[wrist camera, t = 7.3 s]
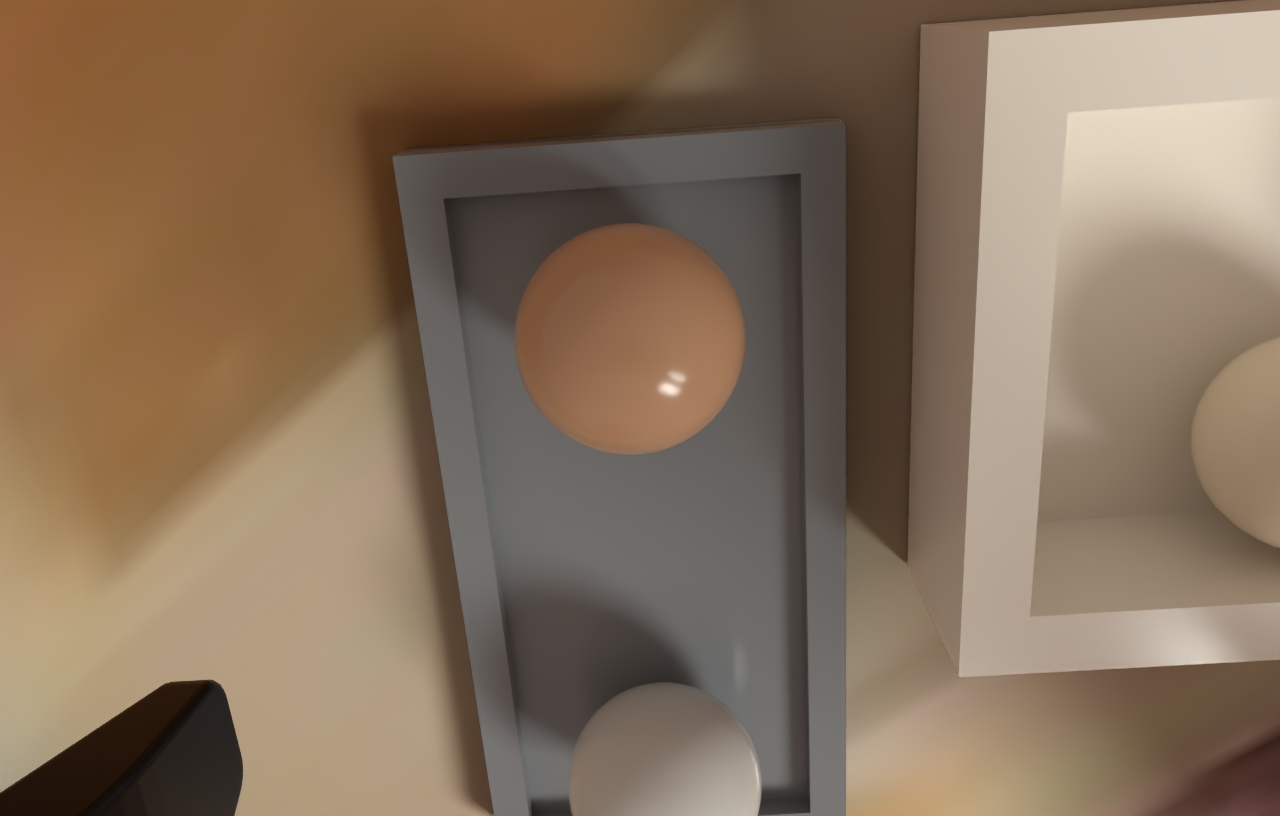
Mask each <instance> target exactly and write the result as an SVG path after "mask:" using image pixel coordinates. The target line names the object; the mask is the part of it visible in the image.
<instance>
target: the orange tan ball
mask: <svg viewBox="0 0 1280 816" xmlns="http://www.w3.org/2000/svg"><path fill="white" fill-rule="evenodd" d="M745 337H746V336H745V326H744V317H743V313H742V309H741V305H740V302H739V299H738V297H737V294H736V292H735V289H734V288H733V286H732V284H731V282H730V281H729V279H728V277H727V275H726V274H725V272H724V271H723V270H722V268H721V267H720V266H719V265H718V263H717V262H716V261H715V260H714V259H713V258H712V257H711V256H710V255H709V254H708V253H707V252H706V251H705V250H704V249H702V248H701V247H700V246H698V245H697V244H696V243H694V242H693V241H691V240H689V239H687V238H686V237H684V236H682V235H680V234H678V233H675V232H673V231H670V230H668V229H665V228H661V227H657V226H653V225H648V224H640V223H619V224H612V225H605V226H602V227H598V228H594V229H591V230H589V231H586V232H584V233H581V234H579V235H577V236H575V237H573V238H572V239H570V240H568V241H567V242H565V243H564V244H562V245H561V246H560V247H558V248H557V249H556V250H555V251H553V252H552V253H551V254H550V255H549V256H548V257H547V258H546V259H545V260H544V261H543V262H542V264H541V265H540V266H539V268H538V269H537V271H536V272H535V273H534V275H533V276H532V277H531V279H530V281H529V283H528V285H527V286H526V288H525V290H524V293H523V295H522V298H521V300H520V303H519V307H518V311H517V315H516V320H515V329H514V351H515V357H516V362H517V367H518V371H519V374H520V377H521V380H522V383H523V385H524V387H525V389H526V391H527V393H528V395H529V397H530V399H531V400H532V402H533V403H534V405H535V406H536V408H537V409H538V410H539V411H540V412H541V414H542V415H543V416H544V417H545V418H546V419H547V420H548V421H549V422H550V423H551V424H552V425H553V426H554V427H555V428H556V429H557V430H559V431H560V432H561V433H563V434H564V435H566V436H567V437H569V438H570V439H572V440H574V441H576V442H578V443H580V444H582V445H584V446H587V447H589V448H592V449H595V450H598V451H602V452H606V453H612V454H620V455H640V454H648V453H653V452H657V451H661V450H665V449H668V448H670V447H673V446H676V445H678V444H680V443H682V442H684V441H686V440H687V439H689V438H691V437H692V436H694V435H695V434H697V433H698V432H699V431H701V430H702V429H703V428H704V427H705V426H706V425H708V424H709V423H710V422H711V421H712V420H713V419H714V418H715V417H716V416H717V414H718V413H719V412H720V411H721V410H722V409H723V407H724V406H725V404H726V403H727V401H728V399H729V398H730V396H731V394H732V392H733V390H734V388H735V386H736V384H737V381H738V378H739V375H740V372H741V369H742V366H743V360H744V354H745Z"/></svg>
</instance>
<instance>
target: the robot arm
mask: <svg viewBox="0 0 1280 816" xmlns="http://www.w3.org/2000/svg"><path fill="white" fill-rule="evenodd" d="M242 779H243V763H242V757H241V752H240V748H239V744H238V740H237V736H236V733H235V729H234V725H233V721H232V717H231V713H230V709H229V705H228V701H227V697H226V694H225V692H224V690H223V688H222V686H221V685H220V684H219V683H217V682H215V681H214V680H196V681H178V682H170V683H166V684H164V685H162V686H161V687H159V688H158V689H156V690H155V691H153V692H152V693H150V694H149V695H147V696H146V697H144V698H143V699H141V700H140V701H138V702H137V703H135V704H134V705H132V706H130V707H129V708H127V709H126V710H124V711H123V712H121V713H120V714H118V715H117V716H115V717H114V718H112V719H111V720H109V721H108V722H106V723H105V724H103V725H102V726H100V727H99V728H97V729H96V730H94V731H93V732H91V733H90V734H88V735H87V736H85V737H84V738H82V739H81V740H79V741H78V742H76V743H75V744H73V745H72V746H70V747H69V748H67V749H66V750H64V751H63V752H61V753H60V754H58V755H57V756H55V757H54V758H52V759H51V760H49V761H48V762H46V763H45V764H43V765H42V766H40V767H39V768H37V769H36V770H34V771H32V772H31V773H29V774H28V775H26V776H25V777H23V778H22V779H20V780H19V781H17V782H16V783H14V784H13V785H11V786H10V787H8V788H7V789H5V790H4V791H2V792H1V793H0V816H234V815H235V811H236V807H237V803H238V799H239V795H240V791H241V787H242Z"/></svg>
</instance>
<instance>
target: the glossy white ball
mask: <svg viewBox="0 0 1280 816" xmlns="http://www.w3.org/2000/svg"><path fill="white" fill-rule="evenodd" d="M761 791H762V781H761V770H760V764H759V760H758V756H757V753H756V749H755V747H754V745H753V743H752V740H751V738H750V736H749V734H748V732H747V730H746V729H745V727H744V726H743V724H742V723H741V722H740V720H739V719H738V718H737V716H736V715H735V714H734V713H733V712H732V711H731V710H730V709H729V708H728V707H727V706H725V705H724V704H723V703H722V702H721V701H719V700H718V699H717V698H715V697H713V696H712V695H710V694H709V693H706V692H704V691H702V690H700V689H697V688H694V687H692V686H689V685H684V684H680V683H672V682H655V683H648V684H643V685H639V686H636V687H633V688H631V689H628V690H626V691H624V692H622V693H619V694H618V695H616V696H615V697H613V698H611V699H610V700H609V701H607V702H606V703H605V704H604V705H603V706H602V707H600V708H599V709H598V710H597V711H596V712H595V713H594V715H593V716H592V717H591V718H590V719H589V721H588V722H587V724H586V725H585V727H584V728H583V730H582V731H581V733H580V735H579V737H578V739H577V742H576V744H575V746H574V749H573V752H572V756H571V760H570V765H569V771H568V798H569V803H570V808H571V813H572V816H758V812H759V807H760V801H761Z"/></svg>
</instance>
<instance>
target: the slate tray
mask: <svg viewBox="0 0 1280 816" xmlns="http://www.w3.org/2000/svg"><path fill="white" fill-rule="evenodd" d="M392 159H393V165H394V171H395V178H396V184H397V191H398V197H399V204H400V210H401V217H402V223H403V230H404V236H405V243H406V249H407V256H408V262H409V269H410V275H411V282H412V288H413V295H414V301H415V307H416V314H417V320H418V327H419V333H420V340H421V346H422V353H423V359H424V366H425V372H426V379H427V385H428V392H429V398H430V405H431V411H432V418H433V424H434V431H435V437H436V443H437V450H438V456H439V463H440V469H441V476H442V482H443V489H444V495H445V502H446V508H447V515H448V521H449V528H450V534H451V541H452V547H453V554H454V560H455V567H456V573H457V579H458V586H459V592H460V599H461V605H462V612H463V618H464V625H465V631H466V638H467V644H468V651H469V657H470V664H471V670H472V677H473V683H474V690H475V696H476V703H477V709H478V715H479V722H480V728H481V735H482V741H483V748H484V754H485V761H486V767H487V774H488V780H489V787H490V793H491V800H492V806H493V813H494V816H572V813H571V808H570V803H569V798H568V771H569V765H570V760H571V756H572V752H573V749H574V746H575V744H576V742H577V739H578V737H579V735H580V733H581V731H582V730H583V728H584V727H585V725H586V724H587V722H588V721H589V719H590V718H591V717H592V716H593V715H594V713H595V712H596V711H597V710H598V709H599V708H600V707H602V706H603V705H604V704H605V703H606V702H607V701H609V700H610V699H611V698H613V697H615V696H616V695H618V694H619V693H622V692H624V691H626V690H628V689H631V688H633V687H636V686H639V685H643V684H648V683H655V682H672V683H680V684H684V685H689V686H692V687H694V688H697V689H700V690H702V691H704V692H706V693H709V694H710V695H712V696H713V697H715V698H717V699H718V700H719V701H721V702H722V703H723V704H724V705H725V706H727V707H728V708H729V709H730V710H731V711H732V712H733V713H734V714H735V715H736V716H737V718H738V719H739V720H740V722H741V723H742V724H743V726H744V727H745V729H746V730H747V732H748V734H749V736H750V738H751V740H752V743H753V745H754V747H755V749H756V753H757V756H758V760H759V764H760V770H761V781H762V791H761V801H760V807H759V812H758V816H846V123H844V122H842V121H841V120H839V119H838V118H824V119H811V120H797V121H783V122H769V123H755V124H741V125H728V126H714V127H700V128H686V129H672V130H659V131H645V132H631V133H617V134H603V135H590V136H576V137H562V138H548V139H534V140H521V141H507V142H493V143H479V144H465V145H452V146H438V147H424V148H410V149H403V150H402V151H400V152H399V153H397V154H395V155H394V156H392ZM619 223H640V224H648V225H653V226H657V227H661V228H665V229H668V230H670V231H673V232H675V233H678V234H680V235H682V236H684V237H686V238H687V239H689V240H691V241H693V242H694V243H696V244H697V245H698V246H700V247H701V248H702V249H704V250H705V251H706V252H707V253H708V254H709V255H710V256H711V257H712V258H713V259H714V260H715V261H716V262H717V263H718V265H719V266H720V267H721V268H722V270H723V271H724V272H725V274H726V275H727V277H728V279H729V281H730V282H731V284H732V286H733V288H734V289H735V292H736V294H737V297H738V299H739V302H740V305H741V309H742V313H743V317H744V326H745V336H746V337H745V354H744V360H743V366H742V369H741V372H740V375H739V378H738V381H737V384H736V386H735V388H734V390H733V392H732V394H731V396H730V398H729V399H728V401H727V403H726V404H725V406H724V407H723V409H722V410H721V411H720V412H719V413H718V414H717V416H716V417H715V418H714V419H713V420H712V421H711V422H710V423H709V424H708V425H706V426H705V427H704V428H703V429H702V430H701V431H699V432H698V433H697V434H695V435H694V436H692V437H691V438H689V439H687V440H686V441H684V442H682V443H680V444H678V445H676V446H673V447H670V448H668V449H665V450H661V451H657V452H653V453H648V454H640V455H620V454H612V453H606V452H602V451H598V450H595V449H592V448H589V447H587V446H584V445H582V444H580V443H578V442H576V441H574V440H572V439H570V438H569V437H567V436H566V435H564V434H563V433H561V432H560V431H559V430H557V429H556V428H555V427H554V426H553V425H552V424H551V423H550V422H549V421H548V420H547V419H546V418H545V417H544V416H543V415H542V414H541V412H540V411H539V410H538V409H537V408H536V406H535V405H534V403H533V402H532V400H531V399H530V397H529V395H528V393H527V391H526V389H525V387H524V385H523V383H522V380H521V377H520V374H519V371H518V367H517V362H516V357H515V351H514V329H515V320H516V315H517V311H518V307H519V303H520V300H521V298H522V295H523V293H524V290H525V288H526V286H527V285H528V283H529V281H530V279H531V277H532V276H533V275H534V273H535V272H536V271H537V269H538V268H539V266H540V265H541V264H542V262H543V261H544V260H545V259H546V258H547V257H548V256H549V255H550V254H551V253H552V252H553V251H555V250H556V249H557V248H558V247H560V246H561V245H562V244H564V243H565V242H567V241H568V240H570V239H572V238H573V237H575V236H577V235H579V234H581V233H584V232H586V231H589V230H591V229H594V228H598V227H602V226H605V225H612V224H619Z"/></svg>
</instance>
